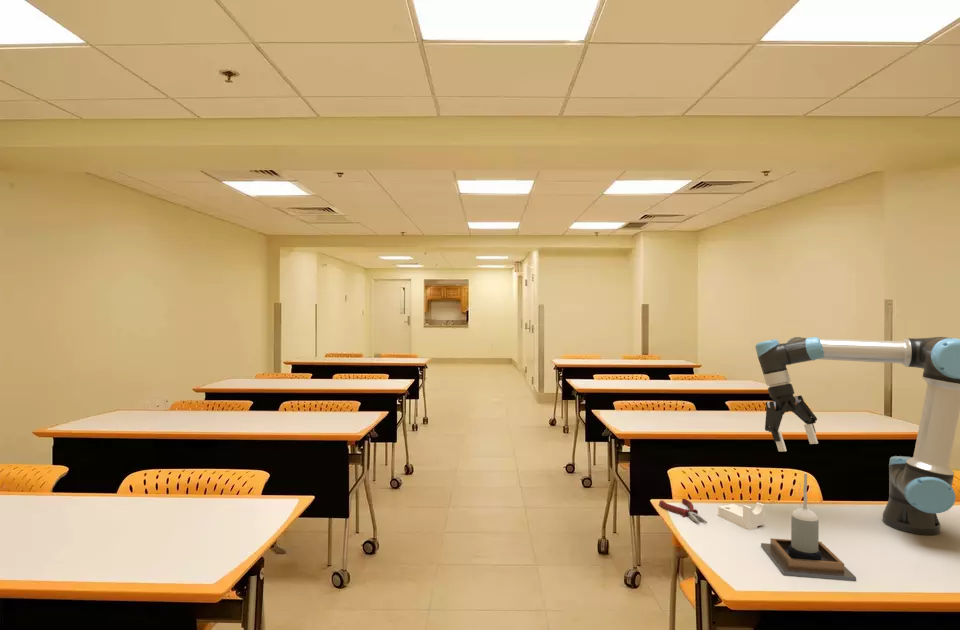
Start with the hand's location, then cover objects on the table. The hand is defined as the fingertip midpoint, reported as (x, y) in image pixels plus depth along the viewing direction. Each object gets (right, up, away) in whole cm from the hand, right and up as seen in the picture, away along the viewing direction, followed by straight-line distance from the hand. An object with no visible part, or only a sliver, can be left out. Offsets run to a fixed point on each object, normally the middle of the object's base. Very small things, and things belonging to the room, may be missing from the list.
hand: (798, 447), depth 177 cm
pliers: (-34, -28, +13) cm, 46 cm away
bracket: (-16, -27, +6) cm, 33 cm away
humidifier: (-13, -27, -24) cm, 38 cm away
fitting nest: (-12, -27, -24) cm, 38 cm away
